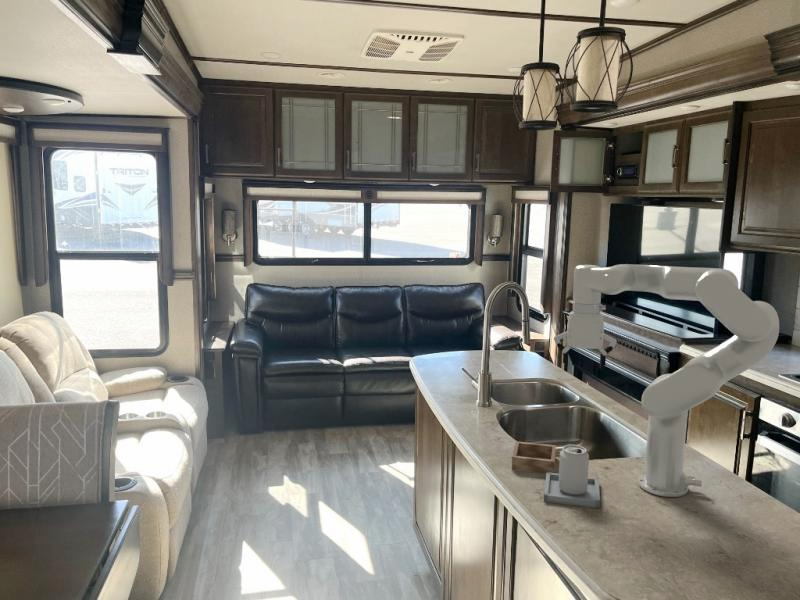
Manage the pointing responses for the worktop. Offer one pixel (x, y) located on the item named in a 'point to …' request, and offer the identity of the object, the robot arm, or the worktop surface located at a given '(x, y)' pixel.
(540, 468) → the caddy
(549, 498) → the tray
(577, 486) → the can
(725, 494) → the worktop surface
